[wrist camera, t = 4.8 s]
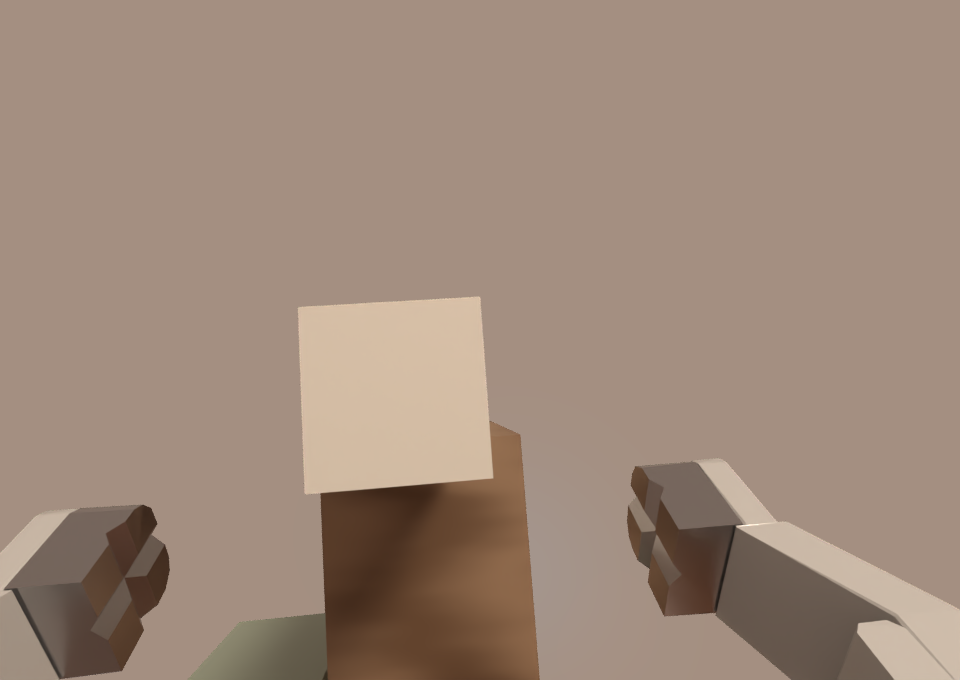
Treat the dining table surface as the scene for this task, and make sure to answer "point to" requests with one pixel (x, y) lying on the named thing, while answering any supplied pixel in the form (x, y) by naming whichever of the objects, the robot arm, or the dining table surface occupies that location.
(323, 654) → the olive grey block
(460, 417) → the beige rectangular bar
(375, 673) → the tall stand
